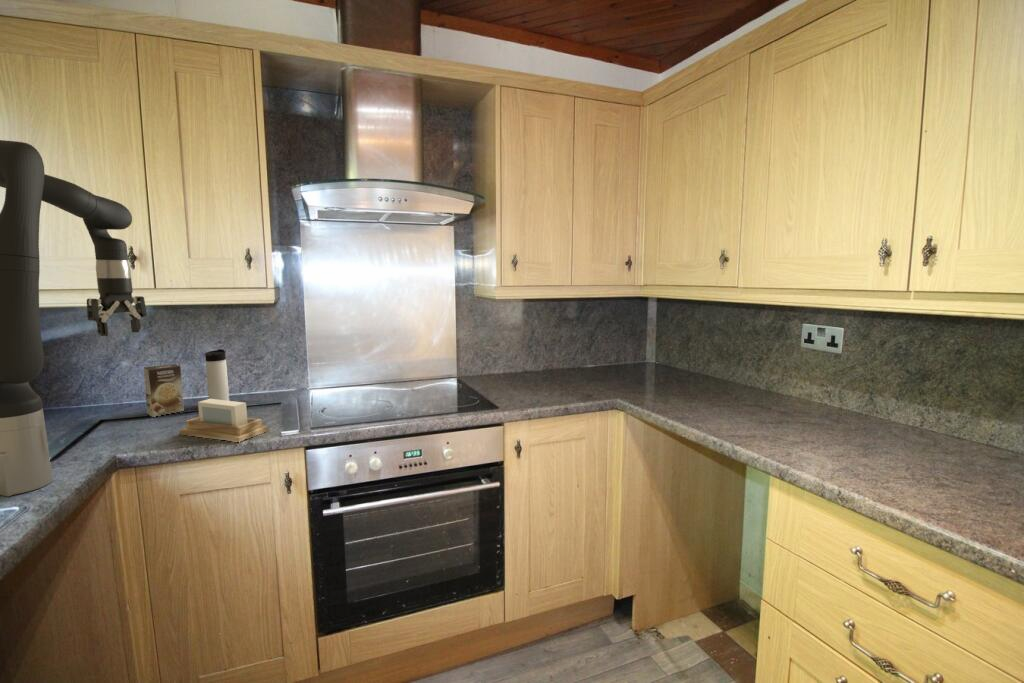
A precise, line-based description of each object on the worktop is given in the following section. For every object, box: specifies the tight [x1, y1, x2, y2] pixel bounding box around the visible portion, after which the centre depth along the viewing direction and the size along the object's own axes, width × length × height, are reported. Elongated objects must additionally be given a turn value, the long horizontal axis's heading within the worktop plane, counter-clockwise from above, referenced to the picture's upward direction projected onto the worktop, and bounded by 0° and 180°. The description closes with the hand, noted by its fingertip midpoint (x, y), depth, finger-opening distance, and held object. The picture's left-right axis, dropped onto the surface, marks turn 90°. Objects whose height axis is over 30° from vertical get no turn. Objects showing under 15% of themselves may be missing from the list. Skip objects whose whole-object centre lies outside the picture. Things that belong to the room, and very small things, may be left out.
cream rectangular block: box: [197, 398, 248, 426], centre depth 145 cm, size 4×14×8 cm, turn 72°
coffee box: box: [143, 363, 185, 418], centre depth 165 cm, size 9×6×16 cm
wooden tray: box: [179, 416, 270, 444], centre depth 146 cm, size 11×22×4 cm, turn 73°
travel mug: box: [204, 348, 230, 401], centre depth 174 cm, size 6×7×20 cm
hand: (120, 334), depth 139 cm, fingers open, 8 cm apart
